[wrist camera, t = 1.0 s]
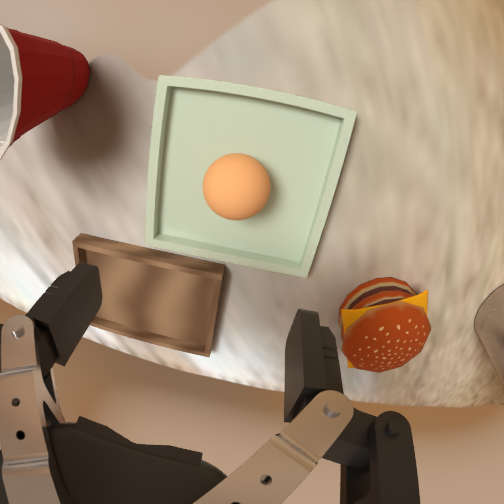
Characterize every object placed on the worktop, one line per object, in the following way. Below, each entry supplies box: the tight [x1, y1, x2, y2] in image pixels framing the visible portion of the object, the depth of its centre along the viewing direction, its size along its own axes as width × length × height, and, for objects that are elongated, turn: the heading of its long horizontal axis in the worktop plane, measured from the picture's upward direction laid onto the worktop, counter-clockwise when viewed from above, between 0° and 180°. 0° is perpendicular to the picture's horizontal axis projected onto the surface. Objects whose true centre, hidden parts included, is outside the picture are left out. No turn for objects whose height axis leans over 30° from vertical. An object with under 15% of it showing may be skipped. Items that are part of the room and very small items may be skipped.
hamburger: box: [339, 277, 431, 372], centre depth 29 cm, size 9×10×7 cm
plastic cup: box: [0, 24, 90, 160], centre depth 16 cm, size 11×11×12 cm
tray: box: [72, 233, 225, 357], centre depth 32 cm, size 16×12×2 cm
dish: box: [145, 75, 357, 278], centre depth 24 cm, size 15×15×2 cm
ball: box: [203, 153, 270, 220], centre depth 23 cm, size 5×5×5 cm
